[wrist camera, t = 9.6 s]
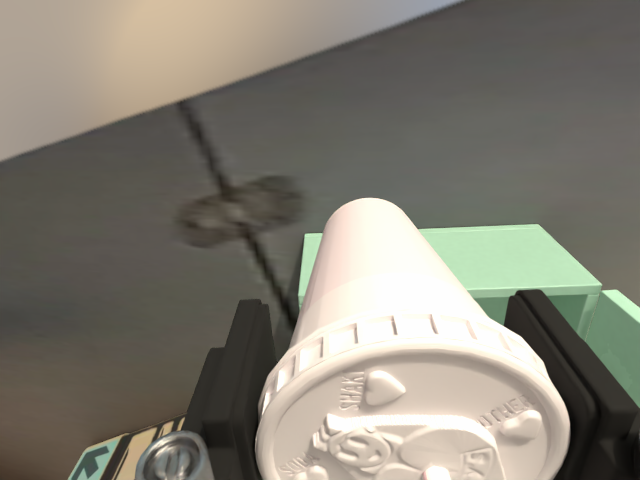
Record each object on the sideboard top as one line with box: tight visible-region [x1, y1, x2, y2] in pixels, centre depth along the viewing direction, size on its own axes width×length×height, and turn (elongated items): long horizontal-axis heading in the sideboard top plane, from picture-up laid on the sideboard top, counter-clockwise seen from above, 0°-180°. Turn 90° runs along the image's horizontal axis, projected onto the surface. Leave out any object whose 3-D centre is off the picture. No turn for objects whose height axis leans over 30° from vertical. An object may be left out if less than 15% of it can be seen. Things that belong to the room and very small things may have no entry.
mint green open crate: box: [298, 224, 602, 341], centre depth 27 cm, size 15×15×7 cm
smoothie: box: [255, 198, 571, 480], centre depth 11 cm, size 6×6×14 cm
